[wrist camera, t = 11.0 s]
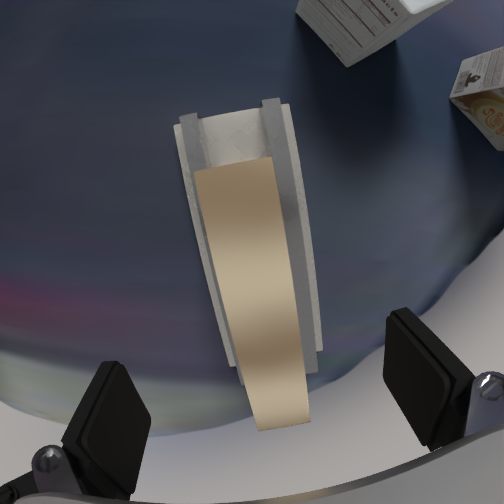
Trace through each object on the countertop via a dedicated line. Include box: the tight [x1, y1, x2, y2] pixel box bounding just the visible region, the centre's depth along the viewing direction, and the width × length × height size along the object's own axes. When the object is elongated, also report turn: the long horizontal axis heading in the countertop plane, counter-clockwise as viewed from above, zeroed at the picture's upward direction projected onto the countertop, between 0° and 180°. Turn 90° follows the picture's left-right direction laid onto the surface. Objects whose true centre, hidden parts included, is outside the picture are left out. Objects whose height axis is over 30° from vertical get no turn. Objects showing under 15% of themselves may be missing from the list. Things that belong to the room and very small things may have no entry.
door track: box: [173, 98, 323, 385], centre depth 24 cm, size 22×9×5 cm, turn 10°
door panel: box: [193, 156, 311, 431], centre depth 19 cm, size 14×3×12 cm, turn 11°
